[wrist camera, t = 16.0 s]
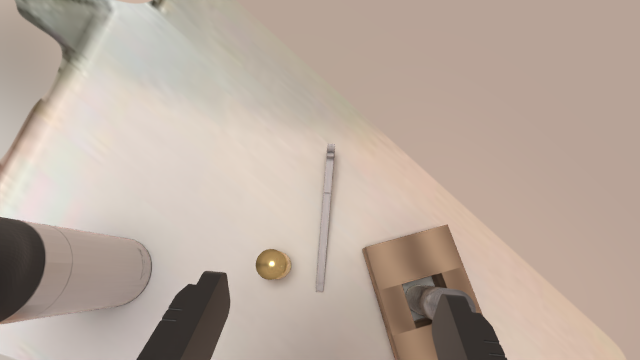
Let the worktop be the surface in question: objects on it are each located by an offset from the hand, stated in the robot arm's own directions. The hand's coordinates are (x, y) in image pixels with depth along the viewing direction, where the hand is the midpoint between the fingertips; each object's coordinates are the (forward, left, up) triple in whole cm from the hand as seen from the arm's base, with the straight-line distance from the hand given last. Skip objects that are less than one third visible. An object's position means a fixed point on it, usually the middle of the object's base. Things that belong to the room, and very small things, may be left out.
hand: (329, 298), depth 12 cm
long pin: (+11, -5, -33) cm, 35 cm away
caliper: (+2, +8, -33) cm, 34 cm away
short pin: (-6, +4, -33) cm, 33 cm away
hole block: (+11, -5, -33) cm, 35 cm away
